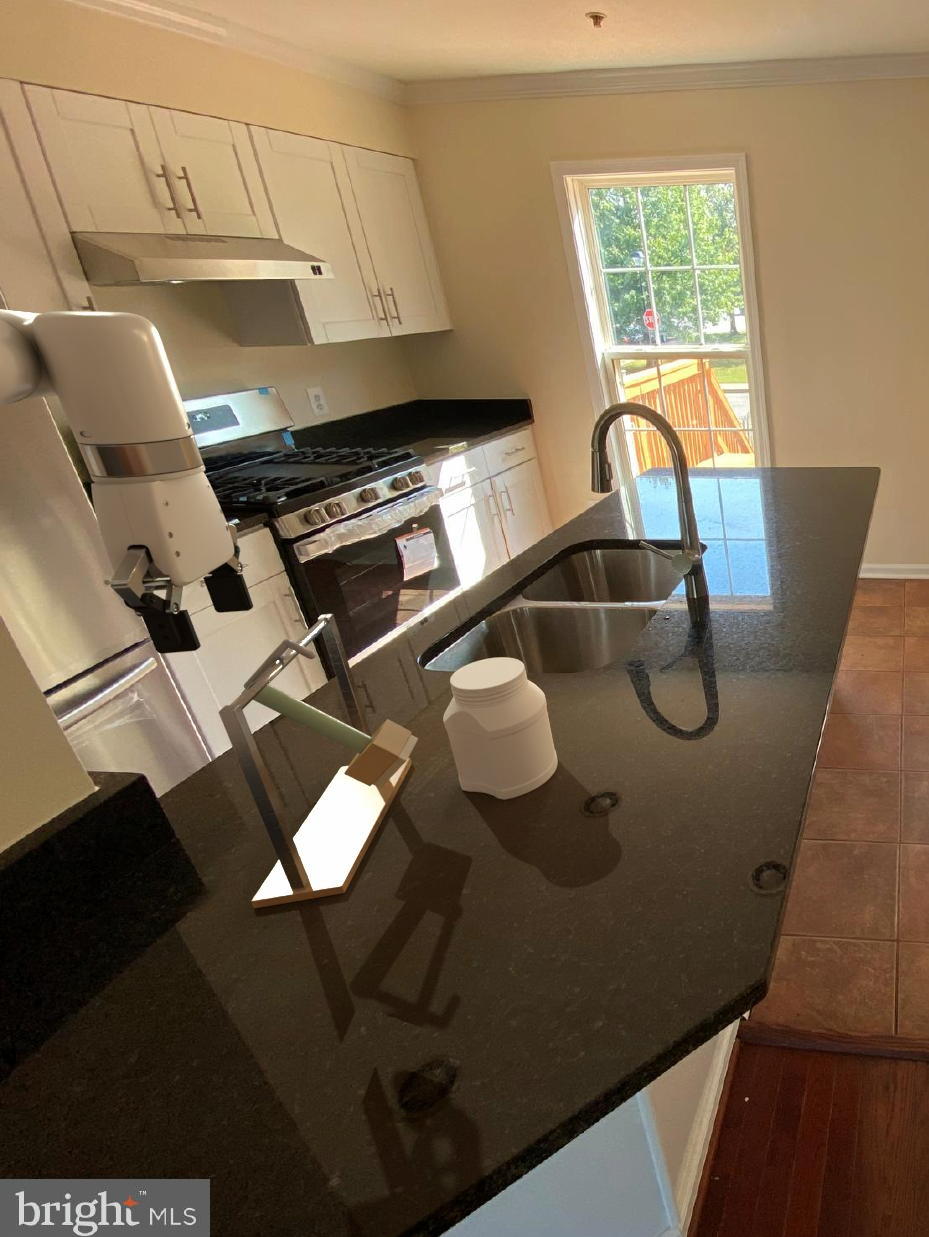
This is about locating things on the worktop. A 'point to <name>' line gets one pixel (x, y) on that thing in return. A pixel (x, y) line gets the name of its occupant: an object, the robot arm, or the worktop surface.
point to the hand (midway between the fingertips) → (209, 629)
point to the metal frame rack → (341, 814)
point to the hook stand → (340, 728)
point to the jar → (499, 729)
